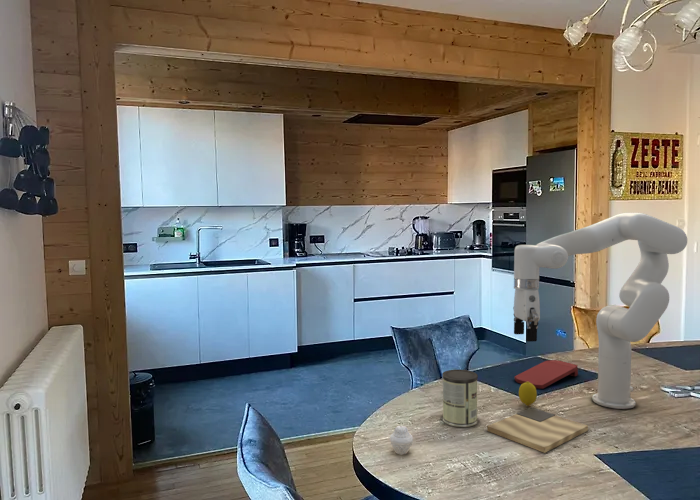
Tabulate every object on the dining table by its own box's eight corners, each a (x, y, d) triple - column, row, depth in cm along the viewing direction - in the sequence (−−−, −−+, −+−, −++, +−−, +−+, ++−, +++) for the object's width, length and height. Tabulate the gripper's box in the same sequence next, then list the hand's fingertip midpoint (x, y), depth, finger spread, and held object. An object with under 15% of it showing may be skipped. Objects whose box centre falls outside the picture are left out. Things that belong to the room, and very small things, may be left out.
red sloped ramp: (541, 399, 187) (582, 376, 200) (540, 386, 186) (582, 363, 199) (513, 390, 197) (554, 368, 210) (512, 377, 196) (553, 356, 209)
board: (531, 412, 165) (531, 407, 165) (587, 430, 151) (587, 424, 151) (487, 431, 152) (487, 425, 151) (544, 453, 138) (544, 446, 137)
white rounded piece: (396, 459, 135) (396, 432, 134) (385, 449, 140) (385, 423, 140) (417, 454, 137) (417, 427, 137) (405, 445, 143) (405, 419, 142)
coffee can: (445, 412, 166) (445, 367, 165) (479, 416, 163) (479, 370, 162) (439, 424, 156) (439, 377, 155) (475, 429, 153) (475, 381, 152)
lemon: (537, 409, 168) (538, 384, 167) (519, 408, 169) (519, 383, 168) (535, 403, 173) (535, 379, 172) (517, 402, 174) (517, 378, 174)
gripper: (550, 287, 160) (548, 344, 161) (526, 280, 177) (525, 331, 178) (525, 288, 159) (524, 344, 160) (504, 280, 176) (503, 331, 178)
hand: (524, 337), depth 169 cm, fingers open, 9 cm apart
